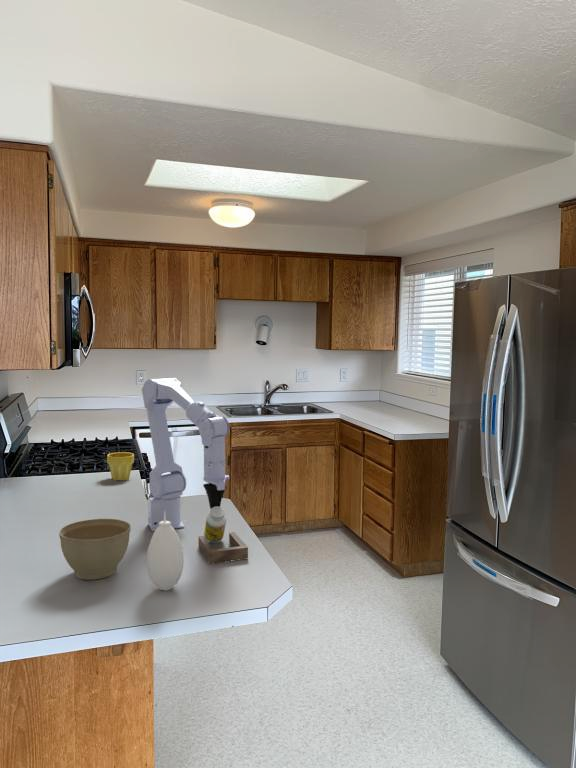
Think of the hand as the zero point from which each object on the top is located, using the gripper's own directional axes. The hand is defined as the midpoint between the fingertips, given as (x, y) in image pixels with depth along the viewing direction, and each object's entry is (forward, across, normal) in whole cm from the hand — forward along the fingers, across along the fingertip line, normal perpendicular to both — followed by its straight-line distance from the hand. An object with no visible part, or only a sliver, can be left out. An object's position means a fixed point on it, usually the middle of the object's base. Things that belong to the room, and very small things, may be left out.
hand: (215, 510), depth 159 cm
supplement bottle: (+8, +2, 0) cm, 8 cm away
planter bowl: (+9, -10, +32) cm, 34 cm away
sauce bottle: (+9, -25, +18) cm, 32 cm away
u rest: (+9, -8, 0) cm, 12 cm away
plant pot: (+9, +83, +18) cm, 85 cm away
